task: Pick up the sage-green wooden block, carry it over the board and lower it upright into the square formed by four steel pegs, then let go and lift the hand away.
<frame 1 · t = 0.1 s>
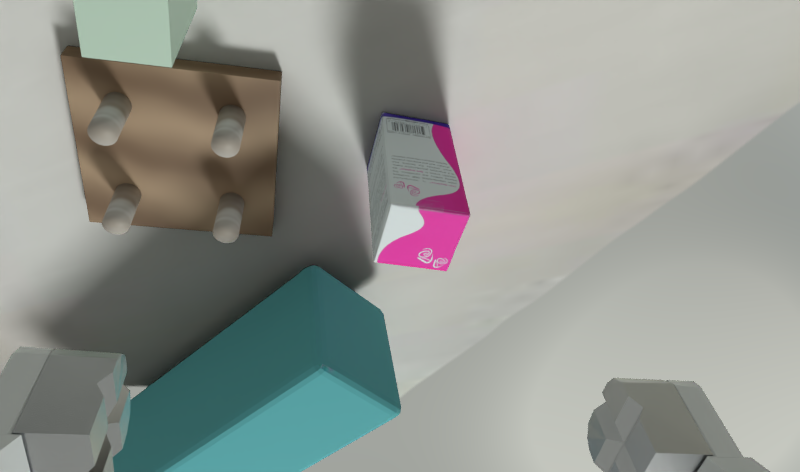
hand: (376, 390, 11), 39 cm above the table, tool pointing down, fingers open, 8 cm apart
peg board: (181, 145, 52), on the table
supplement box: (407, 146, 54), on the table
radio: (246, 345, 69), on the table
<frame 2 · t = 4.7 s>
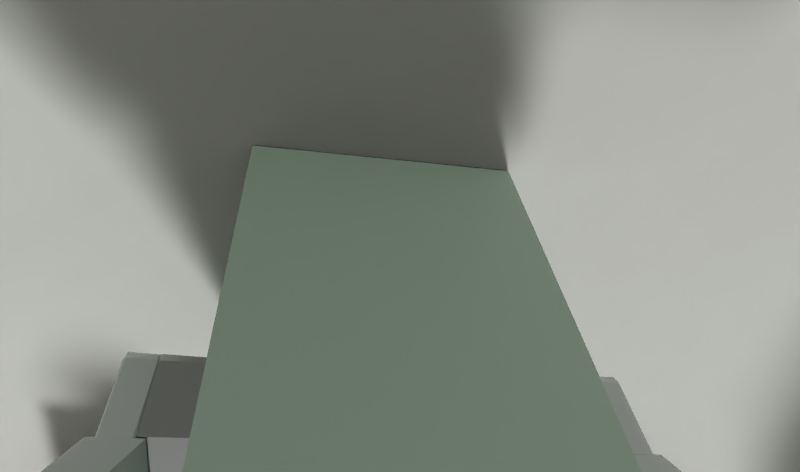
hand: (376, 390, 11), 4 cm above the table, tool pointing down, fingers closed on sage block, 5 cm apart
sage block: (367, 261, 14), on the table, touching gripper
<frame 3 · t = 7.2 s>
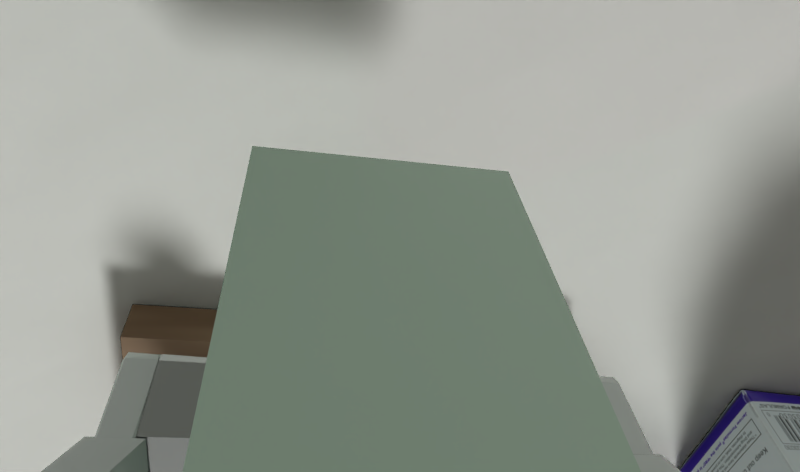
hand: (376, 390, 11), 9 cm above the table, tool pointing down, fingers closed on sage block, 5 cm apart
peg board: (340, 457, 26), on the table
sage block: (367, 261, 14), point 5 cm above the table, touching gripper
supplement box: (760, 435, 28), on the table
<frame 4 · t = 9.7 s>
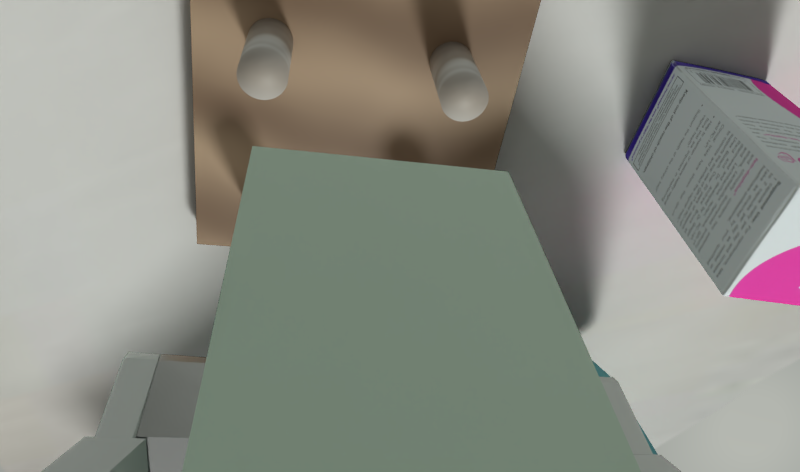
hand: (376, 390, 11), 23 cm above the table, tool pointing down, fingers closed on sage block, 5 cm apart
peg board: (351, 119, 33), on the table
sage block: (367, 261, 14), point 19 cm above the table, touching gripper
supplement box: (691, 119, 35), on the table
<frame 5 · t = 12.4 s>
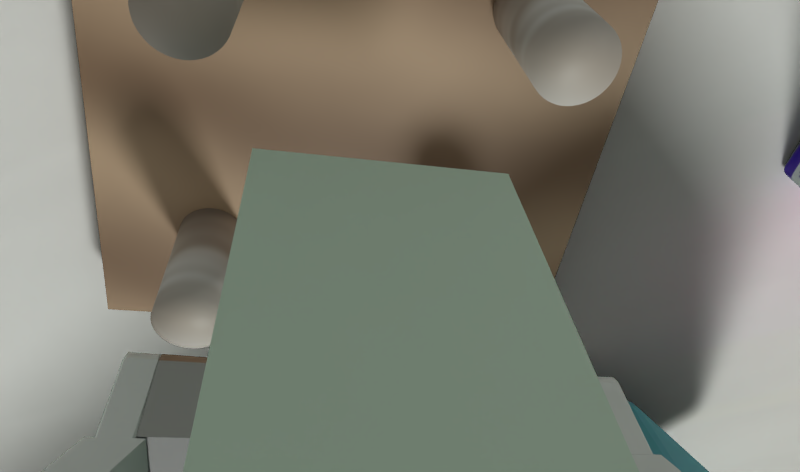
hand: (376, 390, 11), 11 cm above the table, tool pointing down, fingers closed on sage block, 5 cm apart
peg board: (356, 109, 20), on the table
sage block: (367, 263, 14), point 8 cm above the table, touching gripper
when the fingers open (6 cm above the table, at t = 14.6 s): sage block stays where it is, resting on peg board.
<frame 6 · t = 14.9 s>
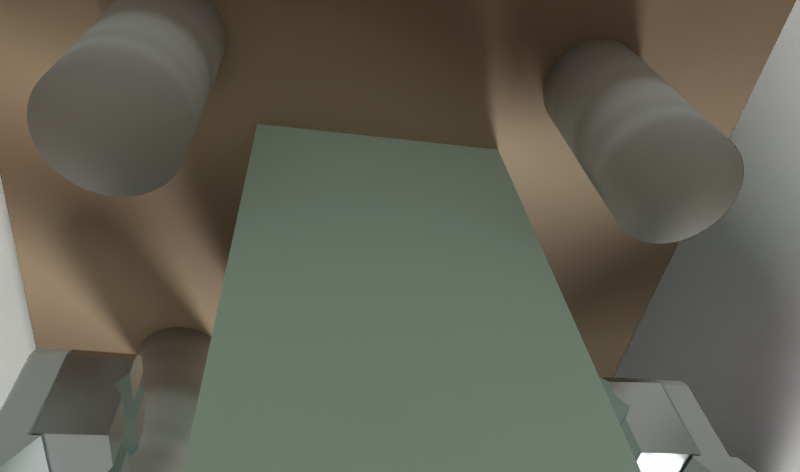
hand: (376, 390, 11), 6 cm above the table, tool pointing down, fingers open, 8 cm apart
peg board: (362, 201, 16), on the table
sage block: (365, 236, 15), point 1 cm above the table, touching peg board
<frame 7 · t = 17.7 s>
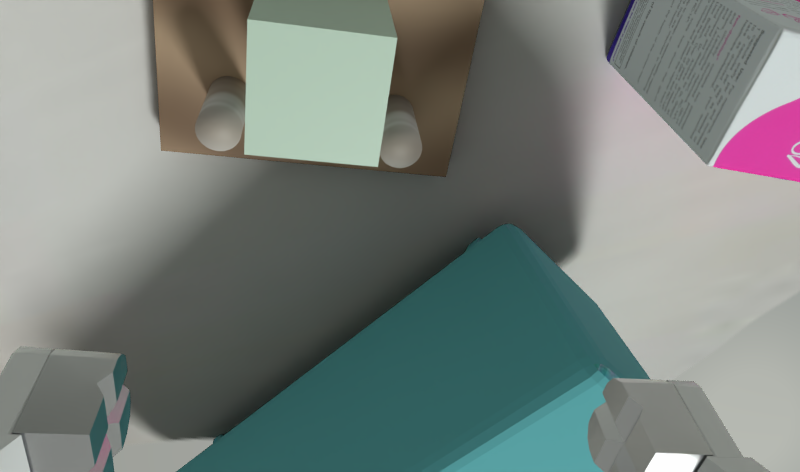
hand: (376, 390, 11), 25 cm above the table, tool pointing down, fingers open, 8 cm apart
peg board: (320, 13, 32), on the table
sage block: (320, 22, 31), point 1 cm above the table, touching peg board
supplement box: (674, 18, 34), on the table
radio: (367, 370, 47), on the table
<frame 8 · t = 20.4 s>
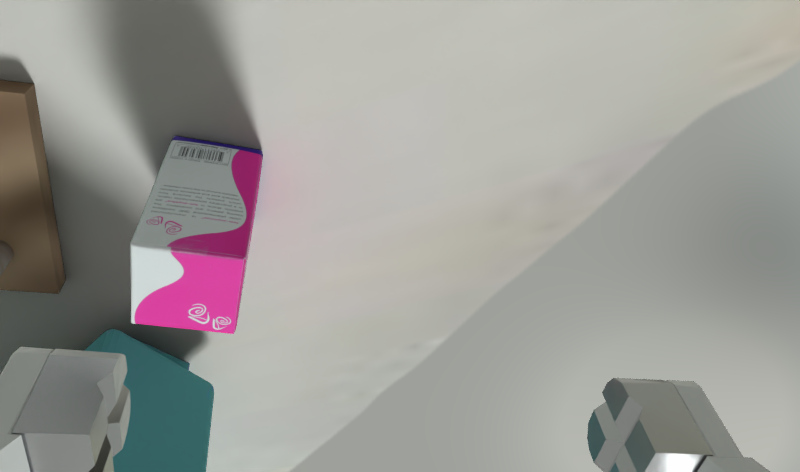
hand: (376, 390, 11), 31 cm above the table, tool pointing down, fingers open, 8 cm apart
supplement box: (216, 179, 44), on the table
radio: (65, 428, 57), on the table
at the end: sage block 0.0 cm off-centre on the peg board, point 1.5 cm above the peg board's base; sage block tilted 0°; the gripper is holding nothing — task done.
